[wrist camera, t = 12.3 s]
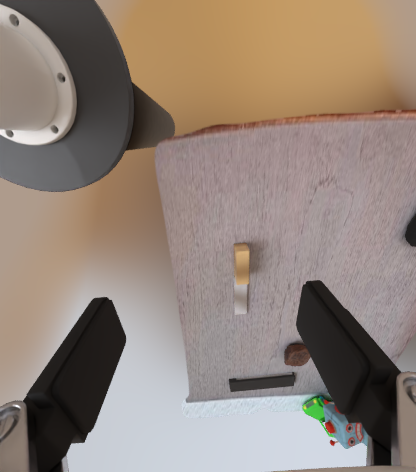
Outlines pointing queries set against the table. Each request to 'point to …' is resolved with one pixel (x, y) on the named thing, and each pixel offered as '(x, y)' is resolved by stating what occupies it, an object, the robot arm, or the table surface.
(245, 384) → the dark grey flat bar
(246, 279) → the knife
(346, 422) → the toy robot
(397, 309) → the table surface
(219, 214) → the table surface
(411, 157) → the table surface
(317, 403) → the toy car
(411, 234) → the gaming mouse
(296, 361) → the stone
